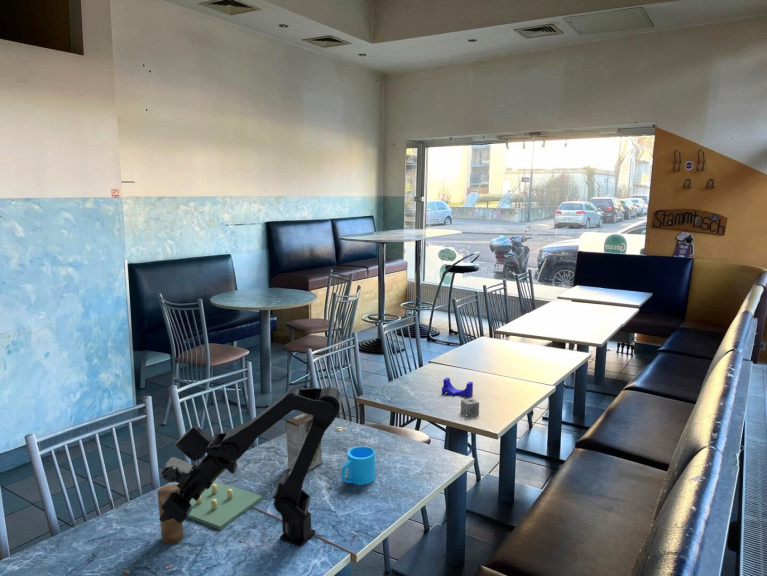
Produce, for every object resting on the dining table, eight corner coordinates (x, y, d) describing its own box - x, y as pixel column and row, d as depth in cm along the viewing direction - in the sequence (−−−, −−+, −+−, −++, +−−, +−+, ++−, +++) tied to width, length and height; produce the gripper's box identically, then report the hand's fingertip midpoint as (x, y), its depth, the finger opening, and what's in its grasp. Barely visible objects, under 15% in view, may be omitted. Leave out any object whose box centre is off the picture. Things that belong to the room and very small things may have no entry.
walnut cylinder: (187, 535, 137) (183, 487, 135) (171, 546, 133) (167, 497, 131) (173, 530, 140) (169, 482, 137) (157, 540, 135) (152, 492, 133)
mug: (361, 468, 170) (361, 443, 169) (381, 477, 164) (380, 452, 163) (332, 483, 161) (331, 457, 160) (351, 493, 156) (351, 466, 154)
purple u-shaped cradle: (441, 394, 233) (442, 380, 232) (446, 390, 237) (446, 377, 236) (468, 399, 227) (468, 385, 226) (472, 395, 231) (472, 382, 230)
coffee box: (308, 457, 177) (306, 410, 175) (322, 463, 173) (321, 415, 171) (286, 468, 170) (284, 419, 168) (301, 475, 166) (299, 424, 164)
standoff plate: (262, 499, 153) (261, 487, 153) (220, 530, 139) (219, 517, 139) (210, 482, 163) (209, 471, 162) (165, 509, 149) (164, 497, 148)
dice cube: (478, 414, 210) (479, 402, 209) (467, 417, 208) (467, 404, 208) (472, 410, 215) (472, 398, 214) (460, 412, 213) (460, 400, 212)
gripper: (194, 433, 141) (155, 473, 143) (167, 468, 123) (122, 514, 125) (227, 461, 143) (187, 501, 145) (204, 500, 124) (159, 545, 126)
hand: (165, 513), depth 135 cm, fingers closed on walnut cylinder, 5 cm apart
